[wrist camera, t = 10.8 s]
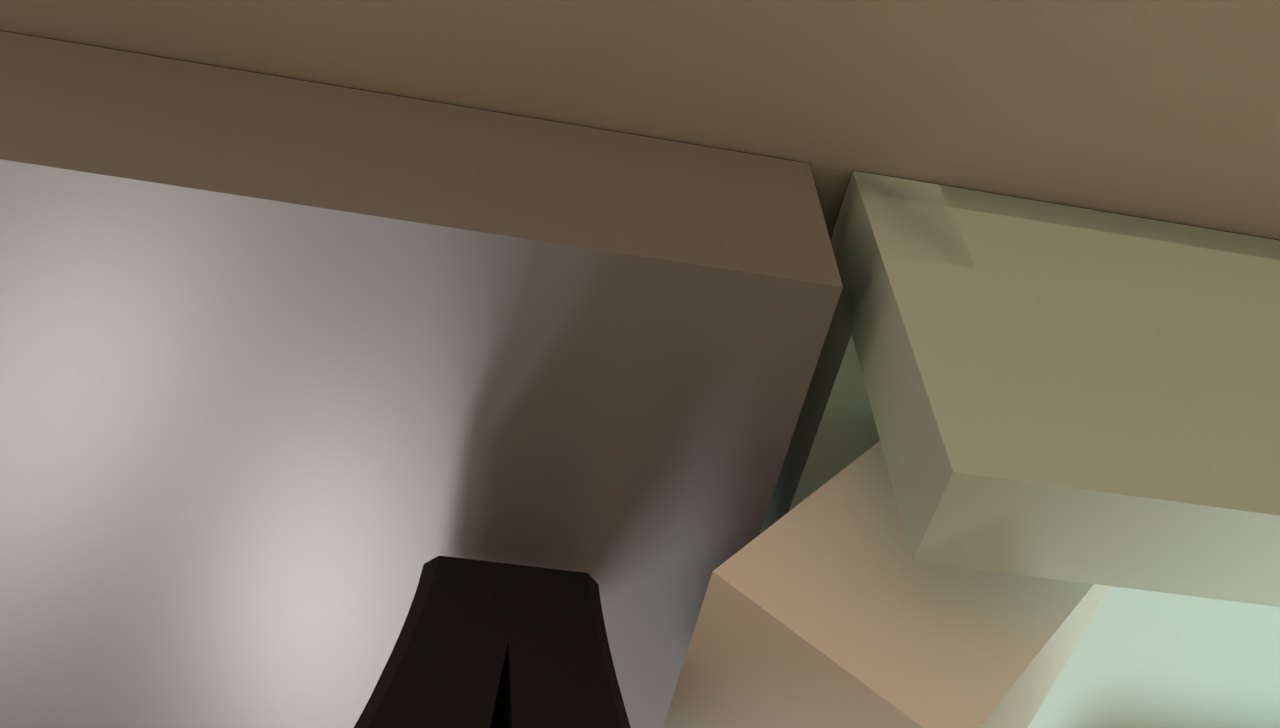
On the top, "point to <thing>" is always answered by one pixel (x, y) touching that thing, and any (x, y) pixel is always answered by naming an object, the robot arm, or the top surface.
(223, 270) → the board
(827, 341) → the tray
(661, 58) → the top surface
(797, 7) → the top surface
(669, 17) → the top surface
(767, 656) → the tile
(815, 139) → the top surface
